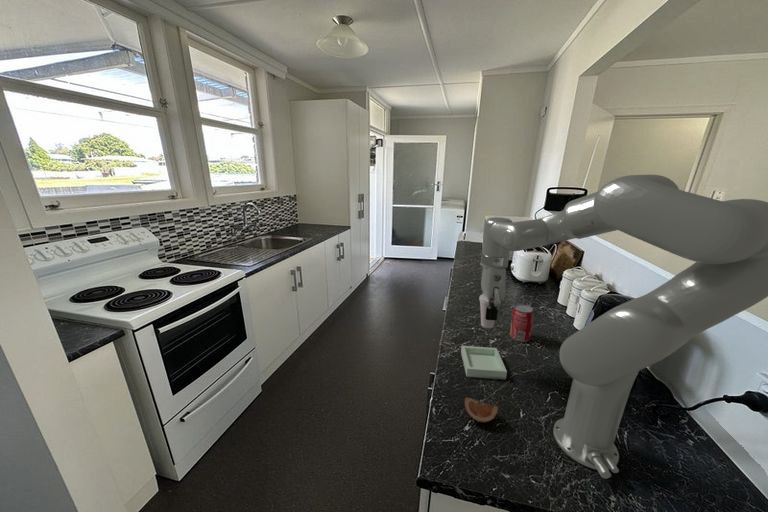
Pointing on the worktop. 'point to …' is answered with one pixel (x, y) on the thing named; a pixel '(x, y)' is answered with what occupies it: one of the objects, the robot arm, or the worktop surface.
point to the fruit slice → (480, 410)
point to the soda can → (521, 323)
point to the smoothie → (483, 307)
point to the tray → (483, 362)
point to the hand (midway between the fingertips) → (488, 313)
